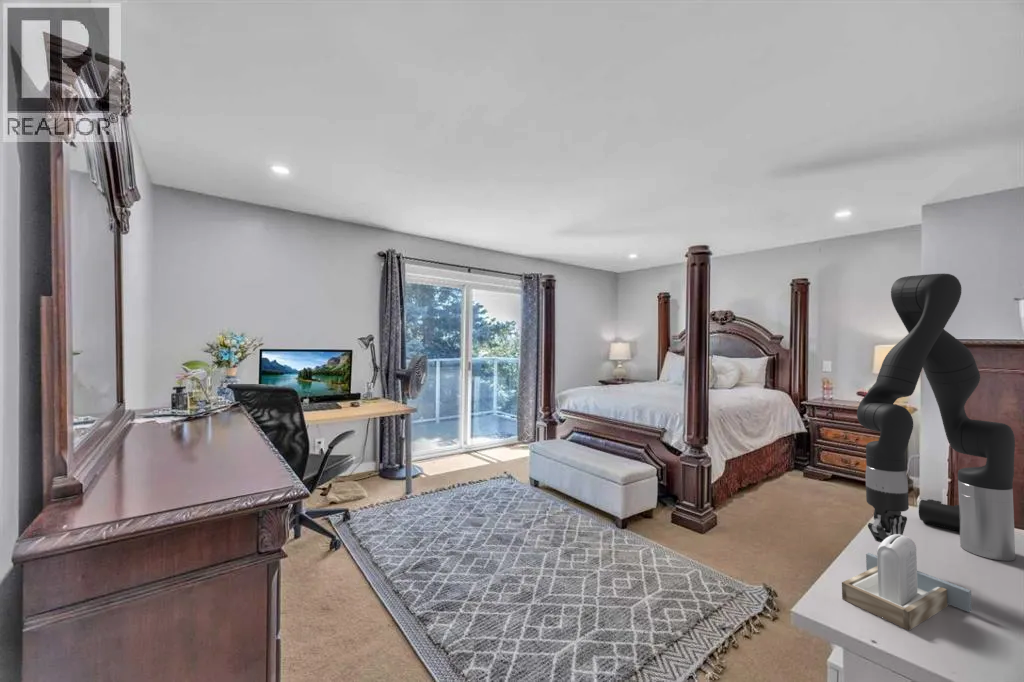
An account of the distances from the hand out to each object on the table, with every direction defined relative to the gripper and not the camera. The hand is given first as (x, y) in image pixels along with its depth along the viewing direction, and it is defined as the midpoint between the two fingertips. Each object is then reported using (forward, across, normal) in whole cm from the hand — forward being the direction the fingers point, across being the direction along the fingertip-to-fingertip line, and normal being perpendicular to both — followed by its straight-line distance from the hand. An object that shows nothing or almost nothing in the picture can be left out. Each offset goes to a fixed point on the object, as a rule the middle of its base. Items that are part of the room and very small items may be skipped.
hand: (889, 559), depth 99 cm
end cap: (+3, +40, +4) cm, 41 cm away
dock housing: (+2, -14, -7) cm, 16 cm away
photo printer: (+1, -14, -7) cm, 16 cm away
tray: (+2, -14, -7) cm, 16 cm away
